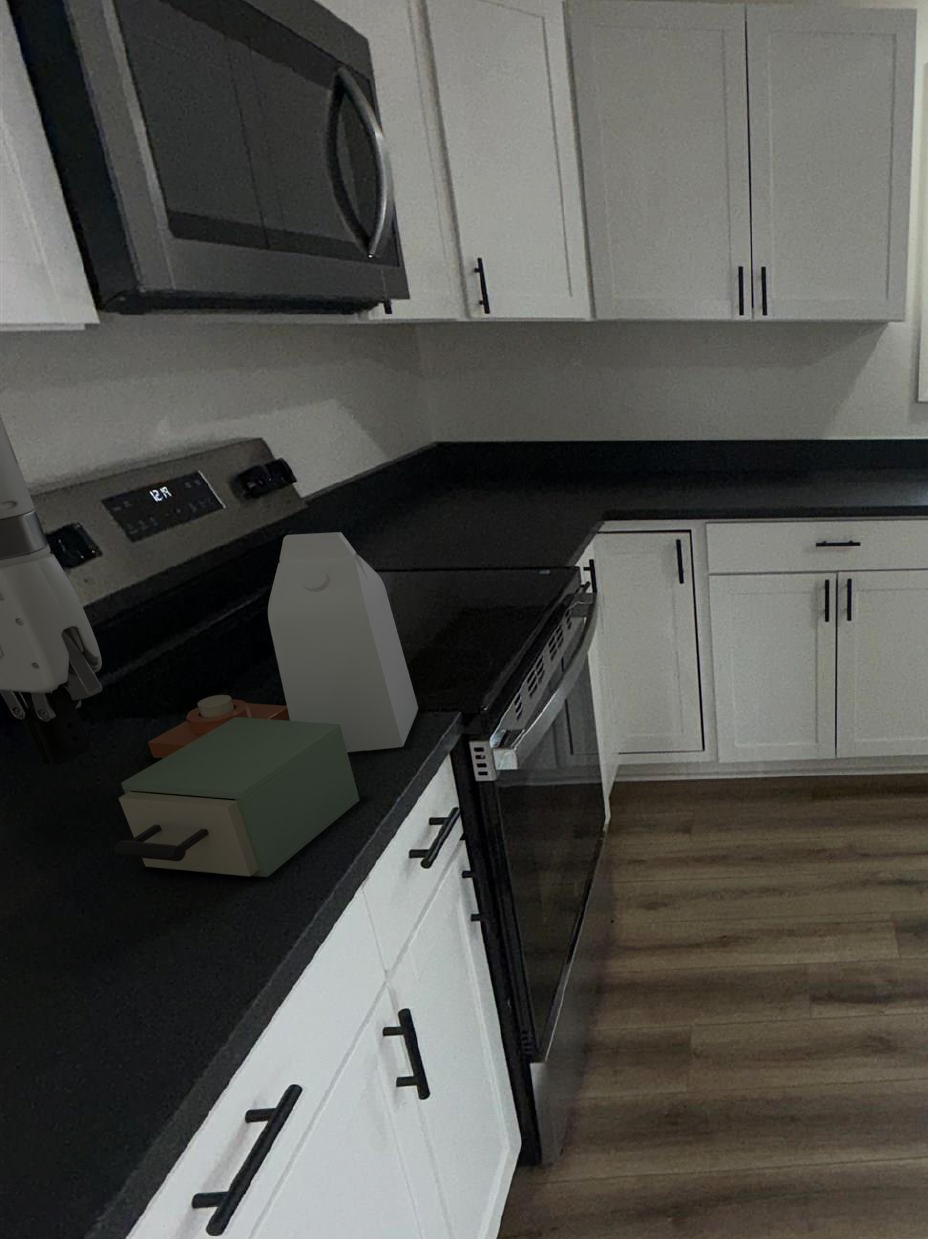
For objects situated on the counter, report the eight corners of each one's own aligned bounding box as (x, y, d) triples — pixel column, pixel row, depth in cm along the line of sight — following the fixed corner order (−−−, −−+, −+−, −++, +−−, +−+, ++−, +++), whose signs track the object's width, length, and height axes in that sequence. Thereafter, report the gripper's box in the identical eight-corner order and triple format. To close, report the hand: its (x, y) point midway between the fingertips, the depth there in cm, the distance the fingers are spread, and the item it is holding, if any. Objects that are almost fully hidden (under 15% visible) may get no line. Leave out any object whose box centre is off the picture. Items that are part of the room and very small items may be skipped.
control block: (226, 763, 107) (216, 734, 105) (153, 757, 108) (142, 728, 106) (293, 720, 118) (286, 693, 116) (226, 715, 119) (218, 688, 117)
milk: (418, 708, 121) (377, 521, 110) (402, 746, 111) (356, 543, 100) (322, 718, 118) (271, 526, 107) (298, 757, 108) (238, 550, 97)
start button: (220, 720, 109) (216, 707, 109) (194, 718, 110) (190, 705, 109) (241, 708, 113) (237, 695, 112) (216, 706, 113) (212, 693, 112)
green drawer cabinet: (267, 877, 86) (239, 792, 82) (152, 866, 87) (120, 782, 83) (359, 800, 99) (340, 723, 95) (258, 792, 101) (235, 716, 97)
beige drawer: (216, 904, 81) (190, 832, 77) (106, 893, 82) (76, 822, 79) (340, 803, 97) (323, 740, 93) (246, 796, 98) (226, 733, 95)
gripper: (-162, 548, 63) (-57, 770, 71) (15, 559, 61) (104, 787, 69) (-52, 523, 70) (33, 729, 78) (111, 533, 68) (182, 743, 76)
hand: (66, 756), depth 73 cm, fingers closed
